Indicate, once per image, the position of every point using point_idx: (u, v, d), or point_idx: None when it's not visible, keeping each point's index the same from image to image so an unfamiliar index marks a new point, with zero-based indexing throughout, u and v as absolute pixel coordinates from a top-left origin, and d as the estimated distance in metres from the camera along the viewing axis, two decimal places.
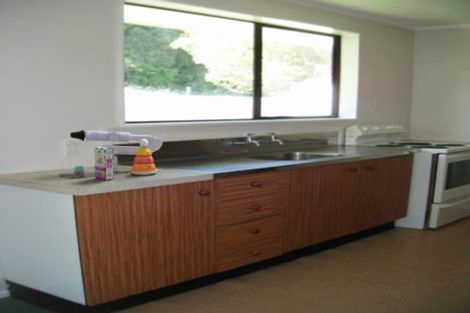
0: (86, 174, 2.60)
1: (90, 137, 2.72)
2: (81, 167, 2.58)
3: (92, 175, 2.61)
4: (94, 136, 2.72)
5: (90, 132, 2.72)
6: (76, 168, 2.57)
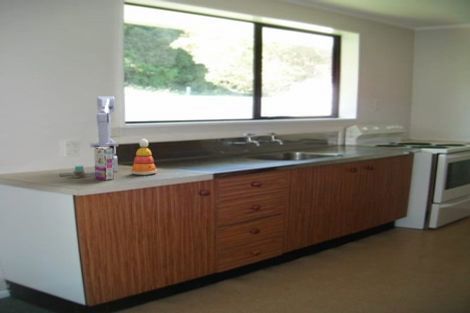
0: (86, 174, 2.60)
1: None
2: (81, 167, 2.58)
3: (92, 175, 2.61)
4: None
5: (108, 141, 2.61)
6: (76, 168, 2.57)
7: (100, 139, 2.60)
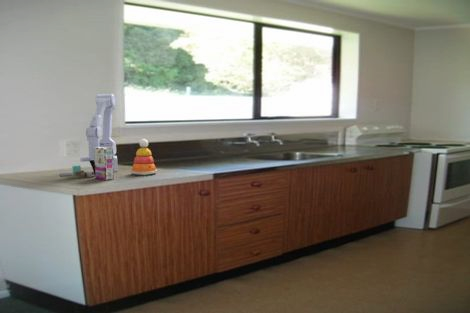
0: None
1: None
2: (79, 167, 2.58)
3: (88, 175, 2.60)
4: None
5: None
6: (74, 168, 2.57)
7: (90, 153, 2.59)
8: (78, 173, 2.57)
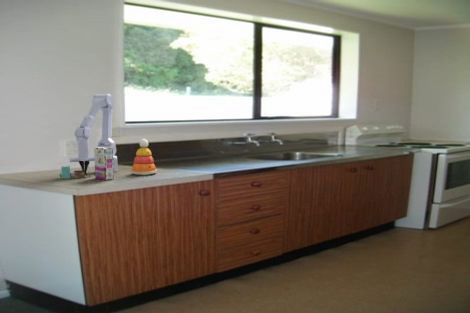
0: (72, 174, 2.58)
1: None
2: (67, 168, 2.56)
3: None
4: None
5: (87, 155, 2.59)
6: (62, 169, 2.55)
7: (80, 154, 2.57)
8: (78, 173, 2.57)
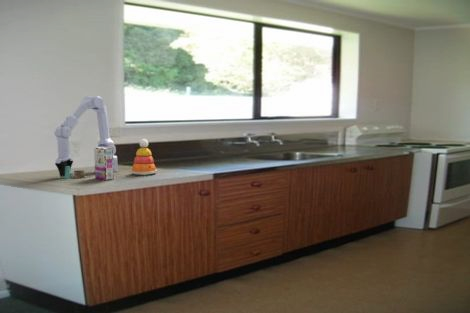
0: (72, 175, 2.58)
1: None
2: (67, 168, 2.56)
3: None
4: None
5: None
6: None
7: (65, 154, 2.54)
8: (78, 173, 2.57)
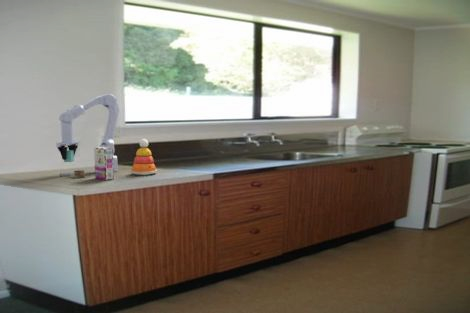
0: (72, 175, 2.58)
1: None
2: (69, 152, 2.64)
3: None
4: None
5: (72, 139, 2.66)
6: None
7: (67, 138, 2.62)
8: (78, 173, 2.57)
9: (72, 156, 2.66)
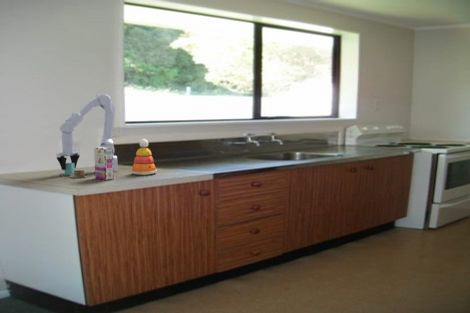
0: (72, 175, 2.58)
1: None
2: (69, 164, 2.65)
3: None
4: None
5: (73, 150, 2.67)
6: None
7: (67, 148, 2.64)
8: (78, 173, 2.57)
9: (73, 169, 2.67)
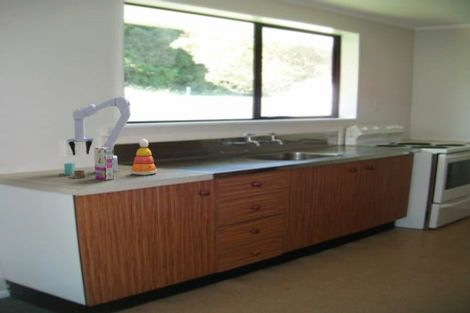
0: (72, 175, 2.58)
1: None
2: (69, 164, 2.65)
3: None
4: None
5: (84, 136, 2.76)
6: (65, 165, 2.65)
7: (77, 135, 2.73)
8: (78, 173, 2.57)
9: (73, 169, 2.67)
